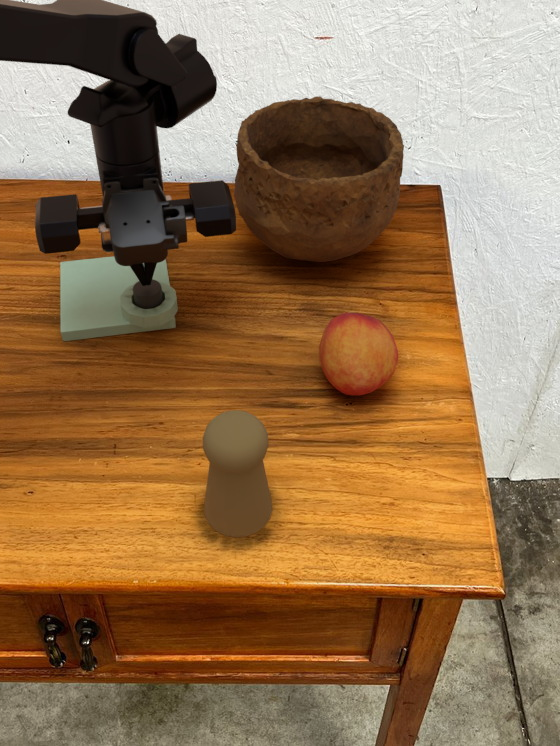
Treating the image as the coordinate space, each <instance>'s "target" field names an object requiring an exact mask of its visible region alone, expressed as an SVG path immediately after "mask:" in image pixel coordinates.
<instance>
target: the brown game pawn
mask: <svg viewBox="0 0 560 746" xmlns="http://www.w3.org/2000/svg"><path fill="white" fill-rule="evenodd" d="M268 434H269V433H268V431H267V429H266V427H265V425H264V423H263V421H262V420H261V419H259V418H258V417H257V416H255V415H254V414H252V413H250V412H248V411H246V410H245V411H244V410H239V409H236V410H226V411H223V412H221V413H219V414H218V415H216V416H215V417H213V418H212V419H211V420H210V421H209V422H208V424H207V425H206V427H205V429H204V433H203V435H202V447H203V448H202V449H203V450H202V451H203V452H204V454H205V457H206V459H207V461H208V462H209V463H208V465H209V466H208V472H207V480H206V488H205V495H204V503H203V515H204V517H205V520H206V522H207V524H208V525H209V526H210V527H211V528H212V529H213V530H214V531H215V532H217V533H219V534H221V535H222V536H225V537H226V536H227V537H232V538H245V537H248V536H251V535H254V534H257V533H258V532H260V531H261V530H262V529H264V528H265V527H266V525H267V524H268V523H269V521H270V519H271V517H272V514H273V510H274V508H273V501H272V496H271V490H270V487H269V482H268V477H267V473H266V472H267V471H266V468H265V462H264V459H265V457H266V455H267V452H268V449H269V435H268Z"/></svg>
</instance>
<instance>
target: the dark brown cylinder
mask: <svg viewBox="0 0 560 746" xmlns="http://www.w3.org/2000/svg"><path fill="white" fill-rule="evenodd" d="M133 295H134V301H135V304H136V305H137V306H138V307H139V308H142V309H152V308H156V307H157V306H159V305H160V304H161V303H162V301H163V296H162V288H161V284H160V283H159V282H158V281H156V280H153V279H152V281H151V285H148V286H147V285H146V286H142V284H141V283H140V281H138V282H137V283H136V284H135V285H134V286H133Z"/></svg>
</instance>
